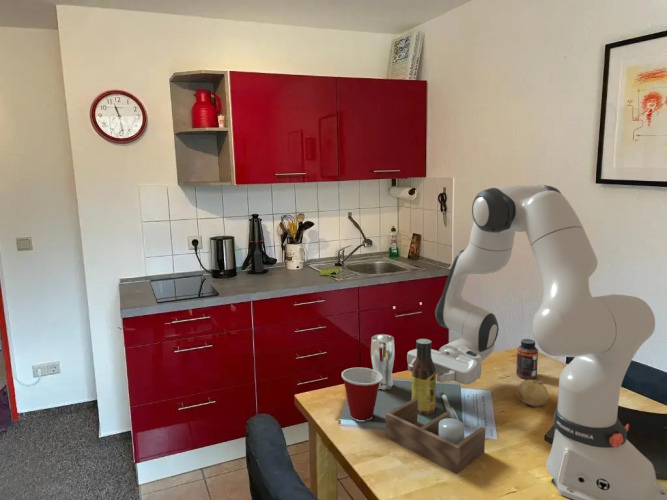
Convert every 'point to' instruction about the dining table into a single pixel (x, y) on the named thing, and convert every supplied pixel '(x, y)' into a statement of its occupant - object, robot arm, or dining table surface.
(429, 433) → the walnut rail
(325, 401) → the dining table surface
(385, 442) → the dining table surface
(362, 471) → the dining table surface
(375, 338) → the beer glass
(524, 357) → the supplement bottle
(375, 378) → the plastic cup
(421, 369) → the sauce bottle
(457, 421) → the grey rounded cylinder
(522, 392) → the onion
